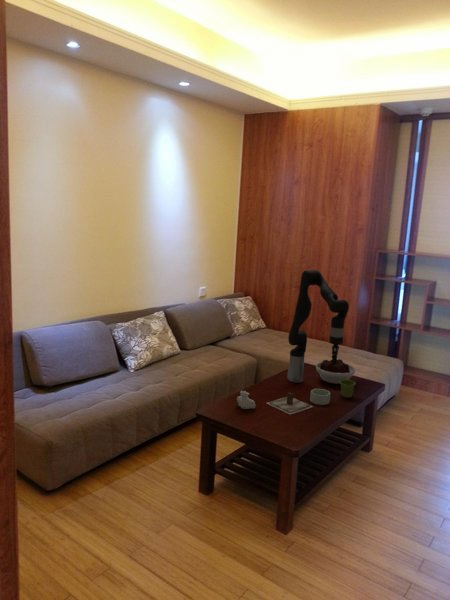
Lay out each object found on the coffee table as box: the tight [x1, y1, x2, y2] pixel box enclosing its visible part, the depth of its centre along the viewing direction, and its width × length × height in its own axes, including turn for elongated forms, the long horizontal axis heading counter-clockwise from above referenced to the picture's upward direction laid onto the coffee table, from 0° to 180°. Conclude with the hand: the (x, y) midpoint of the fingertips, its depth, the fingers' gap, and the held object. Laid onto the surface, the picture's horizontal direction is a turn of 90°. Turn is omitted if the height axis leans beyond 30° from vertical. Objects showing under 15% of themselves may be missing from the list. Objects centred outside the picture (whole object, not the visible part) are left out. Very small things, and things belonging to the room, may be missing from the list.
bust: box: [236, 390, 256, 410], centre depth 269 cm, size 12×8×11 cm
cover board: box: [269, 392, 311, 413], centre depth 274 cm, size 16×16×7 cm
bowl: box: [309, 388, 331, 406], centre depth 282 cm, size 11×11×6 cm
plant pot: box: [339, 379, 356, 399], centre depth 292 cm, size 9×9×9 cm
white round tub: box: [315, 358, 356, 385], centre depth 317 cm, size 25×25×15 cm
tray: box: [266, 396, 314, 415], centre depth 275 cm, size 19×19×1 cm
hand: (334, 362), depth 276 cm, fingers open, 8 cm apart
